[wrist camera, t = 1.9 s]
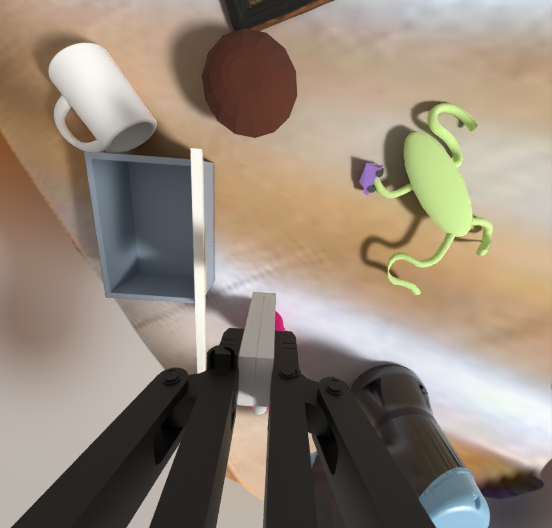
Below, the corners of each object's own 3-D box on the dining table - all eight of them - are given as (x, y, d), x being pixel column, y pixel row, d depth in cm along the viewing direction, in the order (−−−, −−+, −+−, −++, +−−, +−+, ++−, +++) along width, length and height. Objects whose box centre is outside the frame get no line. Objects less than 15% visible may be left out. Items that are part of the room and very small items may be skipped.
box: (214, 280, 48) (200, 303, 39) (137, 275, 47) (105, 297, 39) (214, 163, 41) (196, 159, 33) (124, 156, 41) (83, 151, 32)
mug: (120, 59, 37) (79, 29, 30) (166, 125, 40) (139, 113, 32) (62, 111, 39) (10, 96, 32) (109, 171, 42) (71, 170, 34)
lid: (200, 306, 39) (206, 305, 39) (197, 375, 26) (207, 373, 26) (196, 157, 32) (204, 157, 33) (190, 148, 19) (204, 149, 20)
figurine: (384, 292, 48) (397, 306, 43) (341, 144, 40) (351, 140, 35) (488, 257, 46) (515, 268, 41) (464, 93, 38) (494, 80, 33)
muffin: (200, 109, 39) (175, 88, 29) (241, 34, 36) (227, -17, 26) (266, 158, 41) (262, 153, 31) (310, 91, 38) (320, 63, 28)
